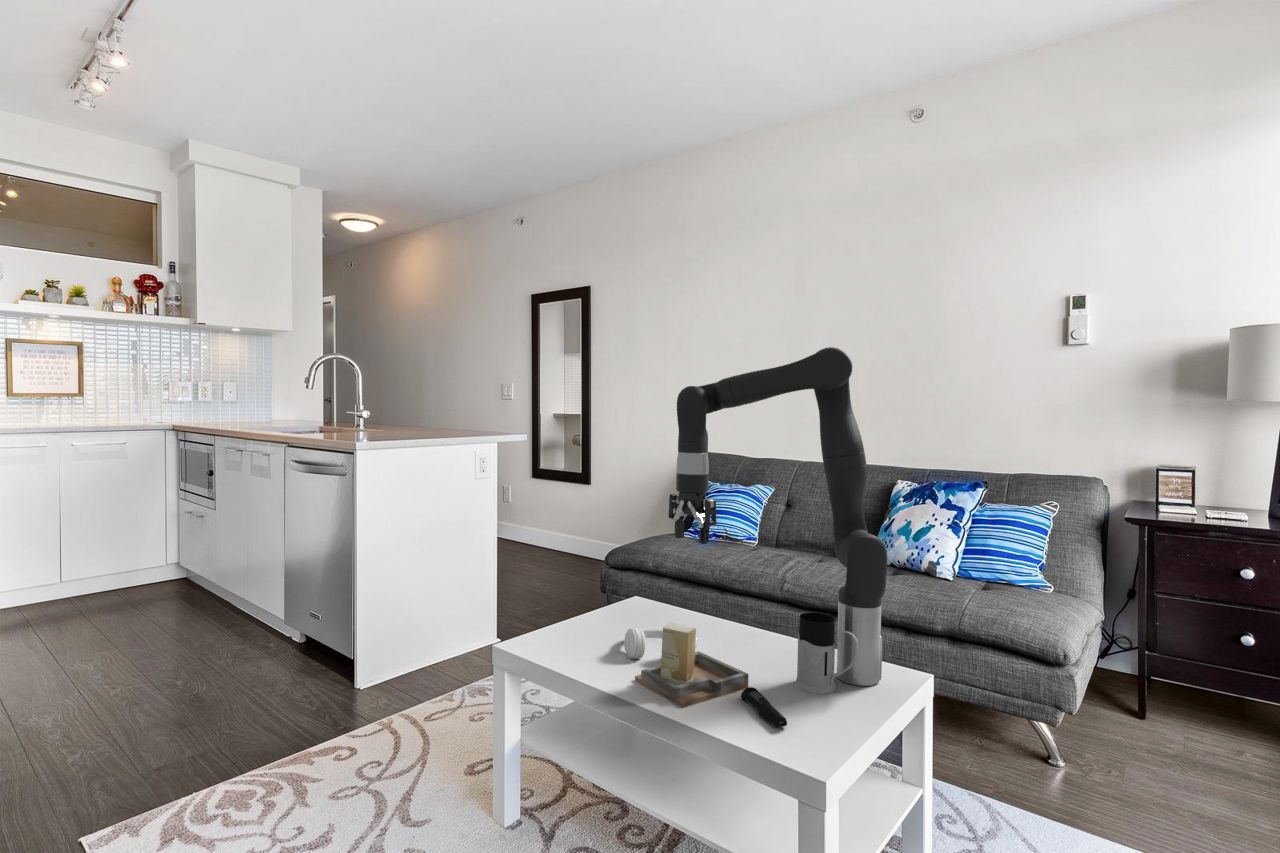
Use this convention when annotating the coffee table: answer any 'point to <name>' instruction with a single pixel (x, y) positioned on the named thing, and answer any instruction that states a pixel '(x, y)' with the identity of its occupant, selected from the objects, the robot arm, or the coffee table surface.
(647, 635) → the headphones
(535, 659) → the coffee table surface
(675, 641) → the skincare box
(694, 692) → the keyhole board
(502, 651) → the coffee table surface
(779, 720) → the electric trimmer
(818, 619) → the glass holder
